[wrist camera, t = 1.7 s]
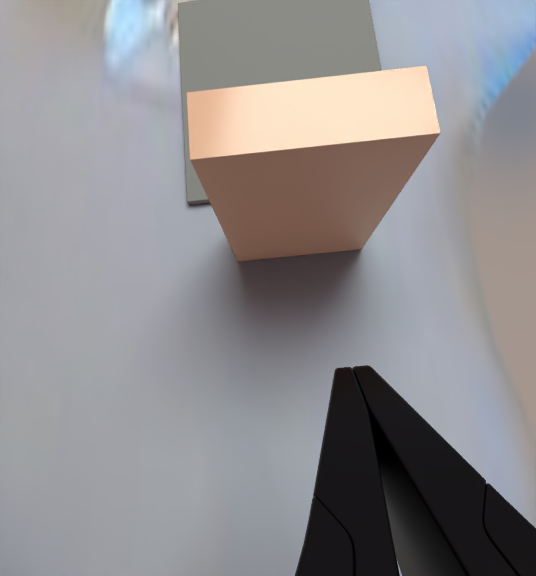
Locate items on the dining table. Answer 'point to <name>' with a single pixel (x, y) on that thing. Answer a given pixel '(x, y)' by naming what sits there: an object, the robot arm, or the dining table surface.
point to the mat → (268, 48)
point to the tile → (309, 157)
